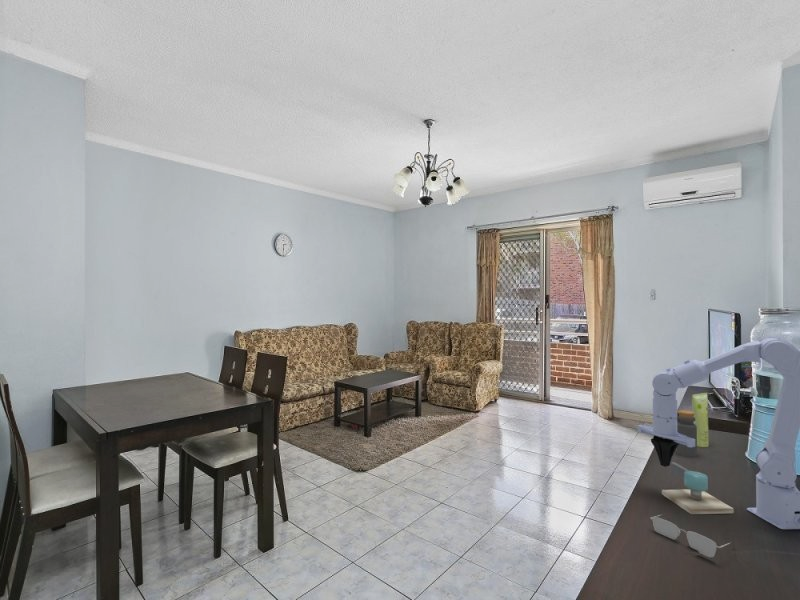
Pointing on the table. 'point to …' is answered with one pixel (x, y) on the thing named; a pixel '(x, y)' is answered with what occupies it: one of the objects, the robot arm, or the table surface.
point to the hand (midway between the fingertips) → (665, 465)
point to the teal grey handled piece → (690, 477)
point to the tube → (701, 418)
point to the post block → (697, 502)
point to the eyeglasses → (694, 539)
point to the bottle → (687, 432)
